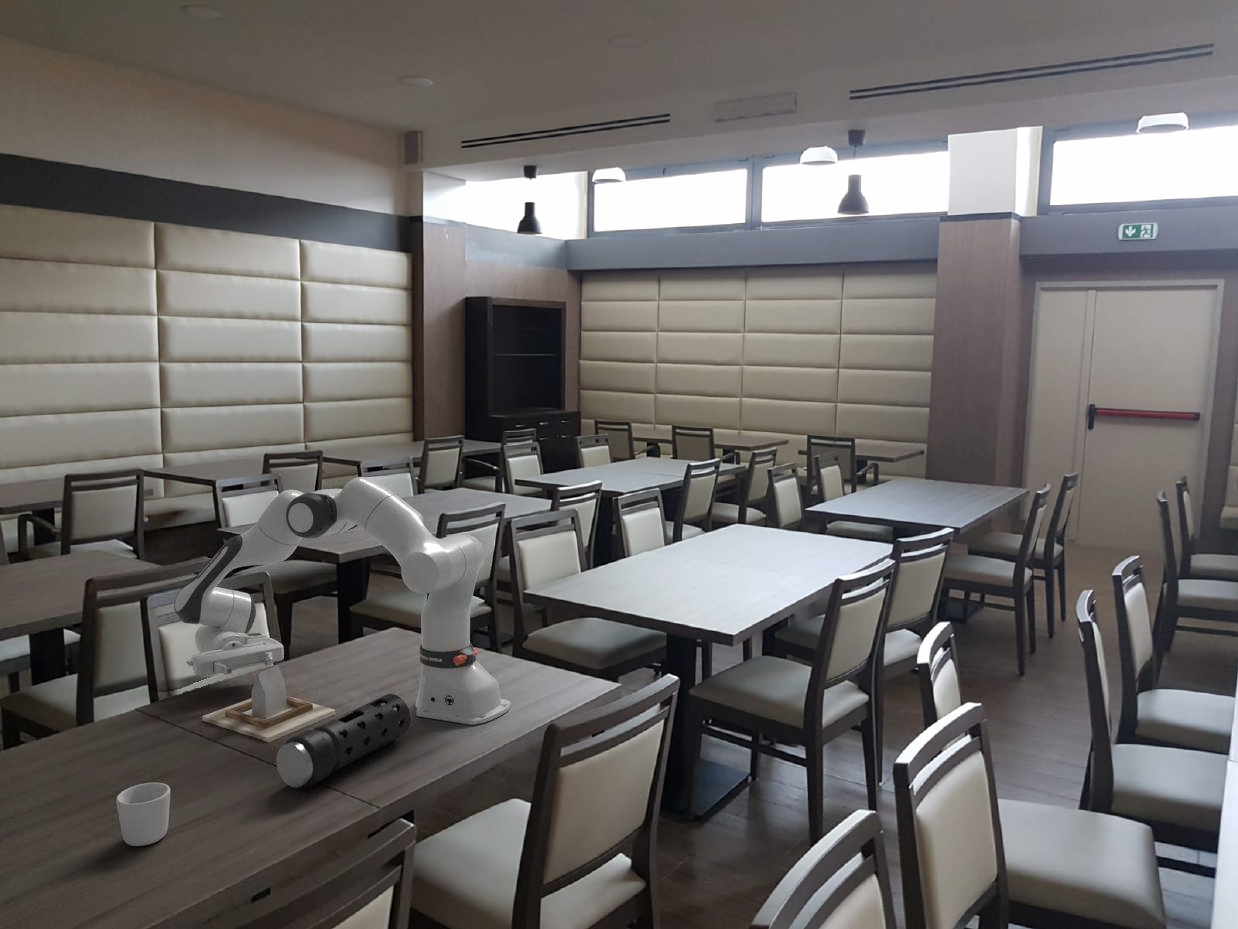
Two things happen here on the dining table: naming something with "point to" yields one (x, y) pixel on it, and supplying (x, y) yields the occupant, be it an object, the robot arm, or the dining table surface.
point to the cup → (144, 813)
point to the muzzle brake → (341, 741)
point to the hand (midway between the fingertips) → (249, 666)
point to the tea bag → (268, 693)
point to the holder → (269, 719)
